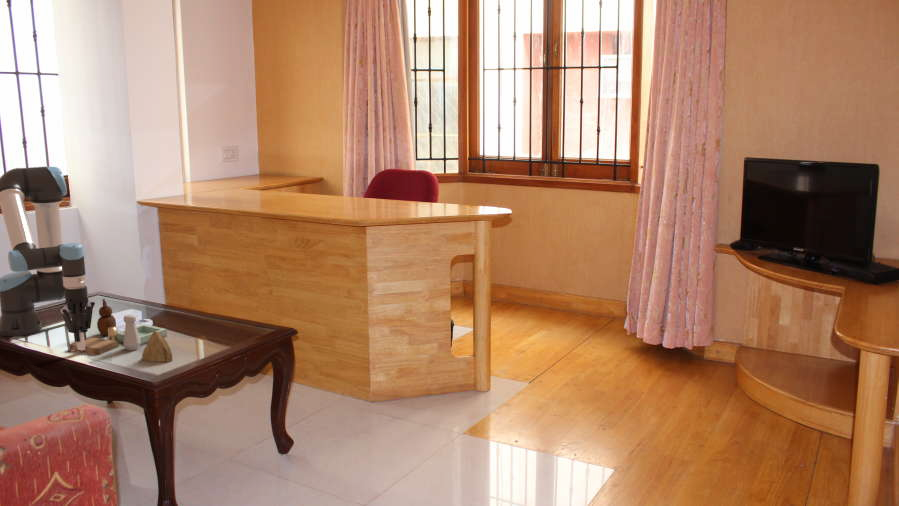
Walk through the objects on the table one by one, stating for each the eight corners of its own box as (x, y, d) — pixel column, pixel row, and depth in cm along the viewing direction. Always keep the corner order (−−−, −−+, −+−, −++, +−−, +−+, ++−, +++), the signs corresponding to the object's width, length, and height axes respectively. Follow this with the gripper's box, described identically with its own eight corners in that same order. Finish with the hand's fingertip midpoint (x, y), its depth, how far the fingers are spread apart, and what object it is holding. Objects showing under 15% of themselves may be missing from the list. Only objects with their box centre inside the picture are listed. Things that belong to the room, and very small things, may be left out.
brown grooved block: (69, 352, 280) (69, 344, 280) (88, 344, 288) (88, 337, 288) (99, 356, 276) (99, 348, 275) (118, 348, 284) (117, 341, 283)
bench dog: (107, 343, 288) (105, 328, 287) (114, 341, 290) (112, 326, 289) (112, 344, 286) (111, 329, 285) (119, 342, 289) (117, 327, 288)
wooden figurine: (108, 337, 295) (105, 300, 292) (95, 336, 296) (92, 299, 293) (119, 332, 301) (116, 295, 298) (106, 331, 303) (103, 294, 300)
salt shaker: (136, 345, 286) (133, 312, 283) (144, 348, 282) (141, 314, 280) (121, 349, 282) (118, 315, 279) (129, 352, 278) (126, 318, 275)
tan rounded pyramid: (181, 353, 270) (170, 343, 277) (166, 339, 265) (155, 328, 272) (157, 375, 267) (146, 364, 274) (141, 361, 261) (131, 350, 268)
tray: (116, 340, 291) (115, 333, 291) (144, 331, 302) (143, 324, 302) (139, 345, 285) (138, 338, 285) (167, 336, 296) (166, 329, 296)
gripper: (65, 291, 265) (71, 356, 269) (98, 284, 276) (103, 346, 280) (51, 289, 268) (58, 352, 273) (84, 281, 279) (90, 342, 284)
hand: (81, 349), depth 277 cm, fingers closed
